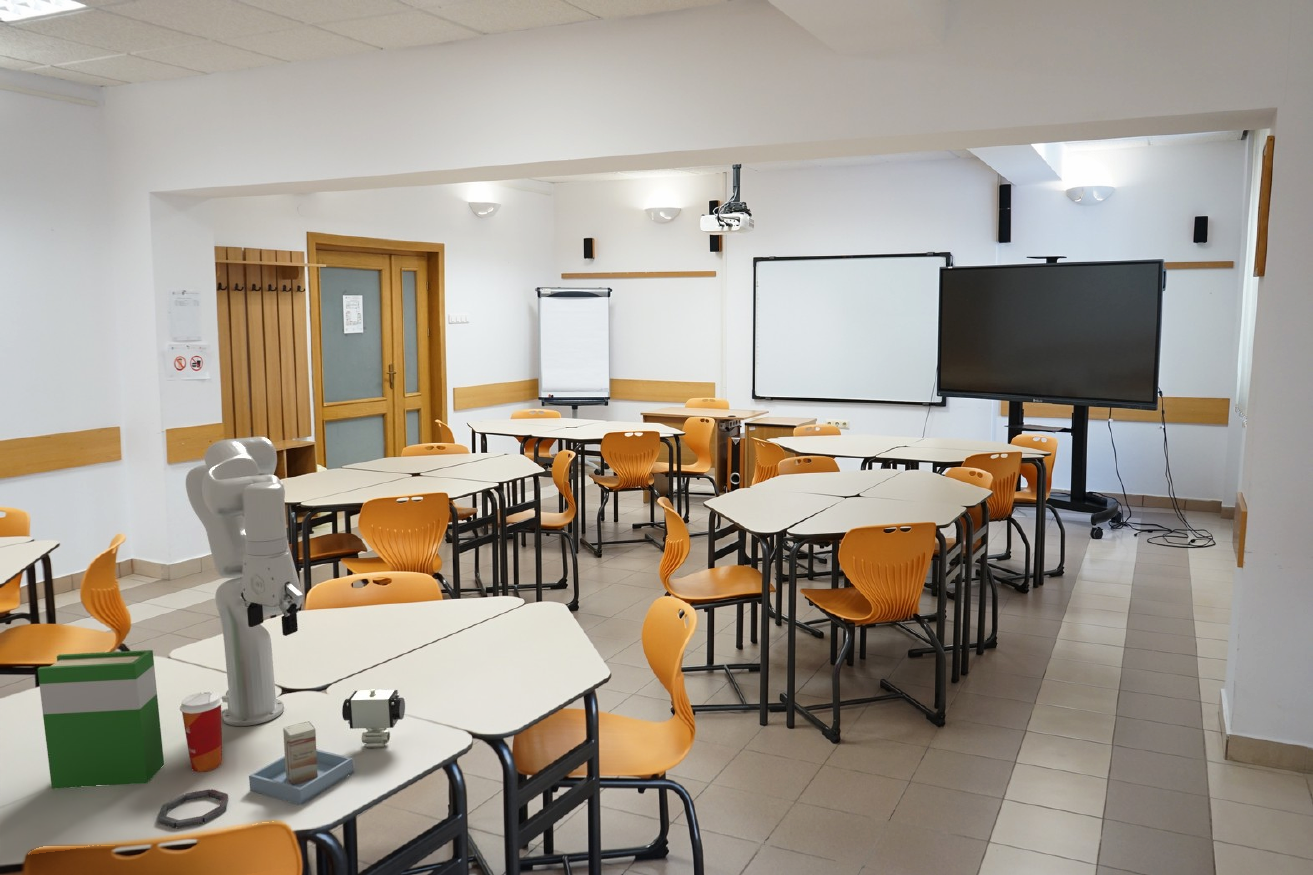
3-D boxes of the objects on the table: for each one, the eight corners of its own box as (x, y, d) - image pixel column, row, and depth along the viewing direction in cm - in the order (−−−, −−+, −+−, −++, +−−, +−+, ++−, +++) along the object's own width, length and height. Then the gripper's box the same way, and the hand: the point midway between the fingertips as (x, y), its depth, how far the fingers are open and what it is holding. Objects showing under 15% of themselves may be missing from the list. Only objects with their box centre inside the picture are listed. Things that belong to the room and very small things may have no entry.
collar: (146, 819, 169) (145, 813, 168) (199, 790, 178) (199, 785, 178) (187, 832, 164) (187, 827, 164) (240, 802, 173) (240, 797, 173)
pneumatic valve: (401, 749, 193) (397, 693, 191) (344, 750, 193) (340, 694, 192) (408, 737, 199) (405, 682, 197) (353, 738, 199) (349, 684, 197)
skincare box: (292, 786, 178) (287, 735, 176) (285, 777, 181) (281, 727, 180) (319, 777, 181) (316, 727, 180) (312, 769, 184) (309, 720, 183)
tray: (250, 790, 178) (248, 775, 177) (304, 759, 190) (303, 745, 189) (301, 805, 172) (300, 789, 172) (353, 772, 184) (352, 758, 183)
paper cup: (194, 757, 192) (188, 691, 190) (233, 755, 192) (227, 689, 191) (178, 776, 184) (172, 707, 182) (219, 773, 185) (213, 705, 183)
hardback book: (51, 788, 180) (37, 668, 177) (72, 770, 188) (59, 654, 184) (147, 783, 182) (134, 664, 178) (164, 764, 189) (152, 650, 186)
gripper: (220, 544, 185) (227, 627, 188) (282, 556, 177) (288, 643, 180) (252, 535, 192) (258, 616, 194) (313, 546, 184) (319, 630, 186)
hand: (273, 629), depth 187 cm, fingers open, 9 cm apart
